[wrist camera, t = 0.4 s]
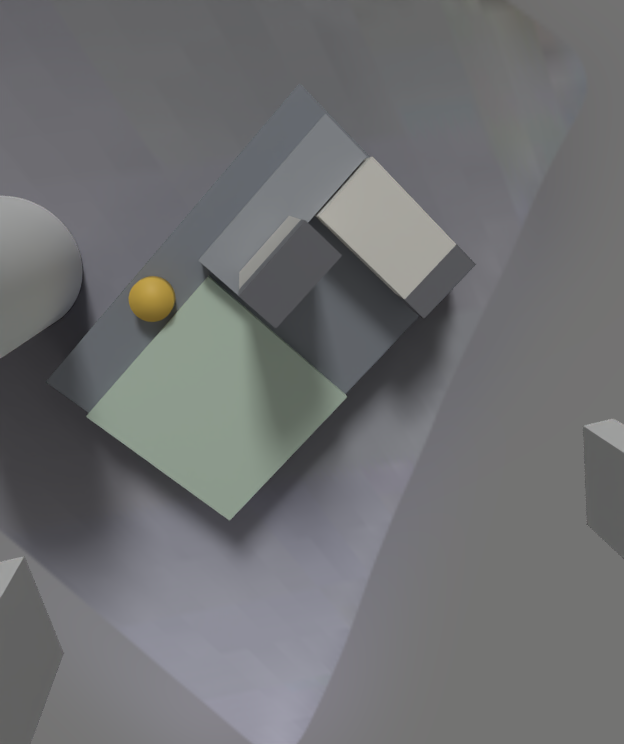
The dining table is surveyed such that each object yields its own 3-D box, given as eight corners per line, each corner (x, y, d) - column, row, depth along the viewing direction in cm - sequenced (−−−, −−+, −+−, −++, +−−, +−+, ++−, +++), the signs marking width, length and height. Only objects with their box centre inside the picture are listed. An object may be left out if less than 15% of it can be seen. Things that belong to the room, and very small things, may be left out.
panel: (65, 363, 37) (27, 398, 31) (292, 96, 35) (305, 71, 28) (230, 486, 41) (228, 542, 35) (447, 255, 38) (491, 267, 32)
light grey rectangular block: (238, 272, 31) (238, 296, 23) (288, 214, 31) (305, 220, 23) (267, 297, 32) (275, 328, 24) (317, 241, 31) (342, 255, 23)
